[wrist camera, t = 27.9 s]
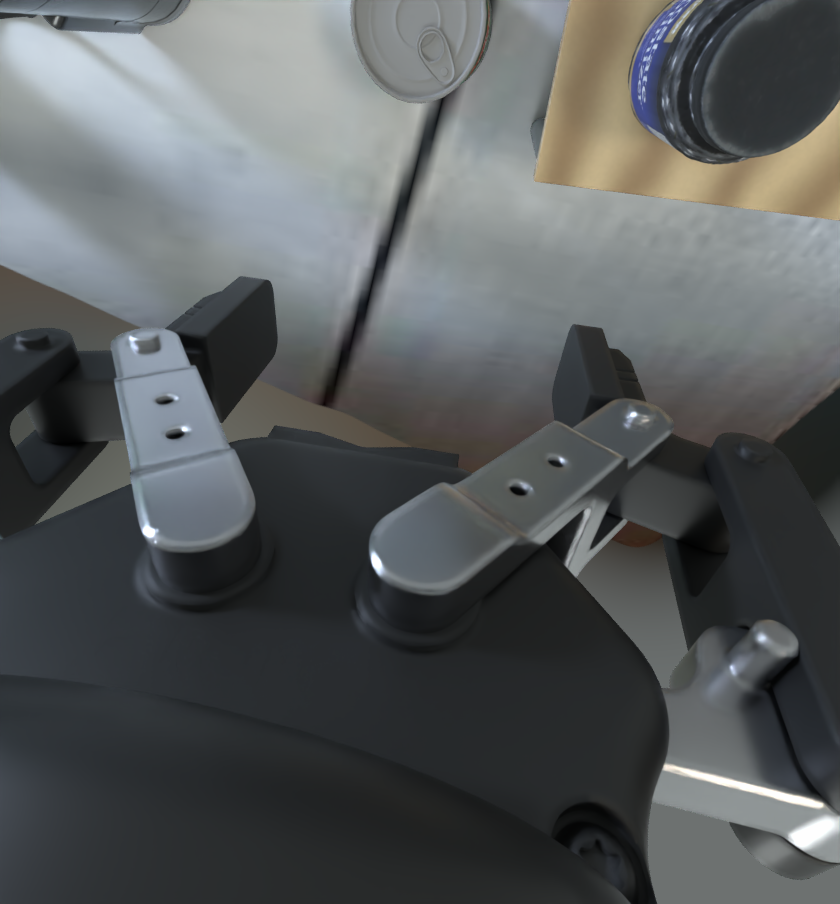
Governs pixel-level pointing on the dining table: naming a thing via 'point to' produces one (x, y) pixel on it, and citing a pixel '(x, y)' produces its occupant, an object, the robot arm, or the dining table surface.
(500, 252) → the dining table surface
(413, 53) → the canned tomato
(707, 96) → the pill bottle
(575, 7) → the shelf riser
